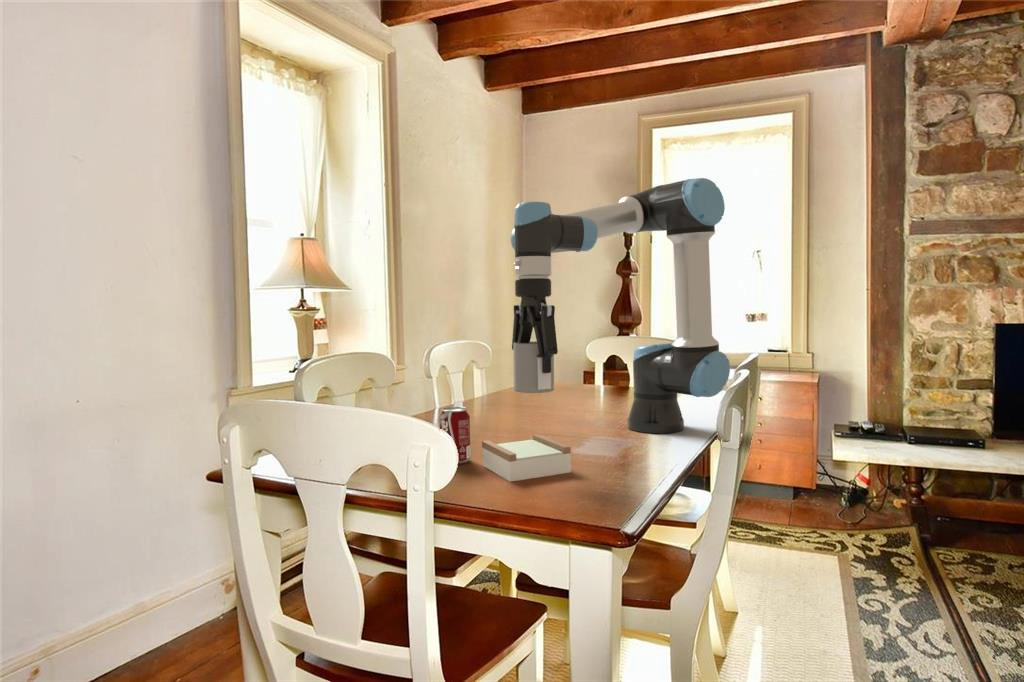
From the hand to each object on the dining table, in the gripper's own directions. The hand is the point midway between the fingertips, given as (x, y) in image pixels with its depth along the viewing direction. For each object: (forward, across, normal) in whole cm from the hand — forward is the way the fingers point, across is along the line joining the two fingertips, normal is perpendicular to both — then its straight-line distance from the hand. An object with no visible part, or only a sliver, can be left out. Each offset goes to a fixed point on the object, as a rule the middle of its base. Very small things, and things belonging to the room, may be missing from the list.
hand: (533, 386), depth 135 cm
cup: (+1, 0, 0) cm, 1 cm away
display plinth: (+18, -1, -2) cm, 18 cm away
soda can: (+18, -14, -12) cm, 26 cm away
